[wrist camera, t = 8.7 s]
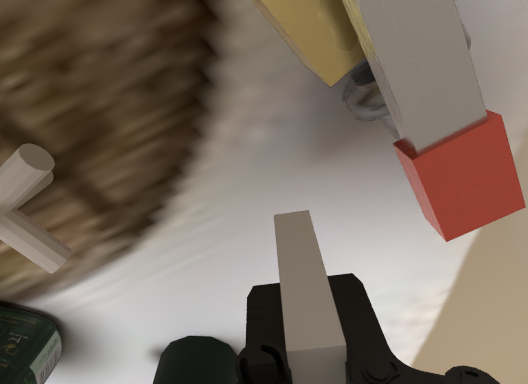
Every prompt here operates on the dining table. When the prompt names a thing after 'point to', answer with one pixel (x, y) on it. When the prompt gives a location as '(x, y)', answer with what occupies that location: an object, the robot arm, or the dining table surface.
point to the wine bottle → (197, 362)
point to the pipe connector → (20, 191)
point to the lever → (438, 113)
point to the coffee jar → (27, 347)
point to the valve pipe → (332, 51)
